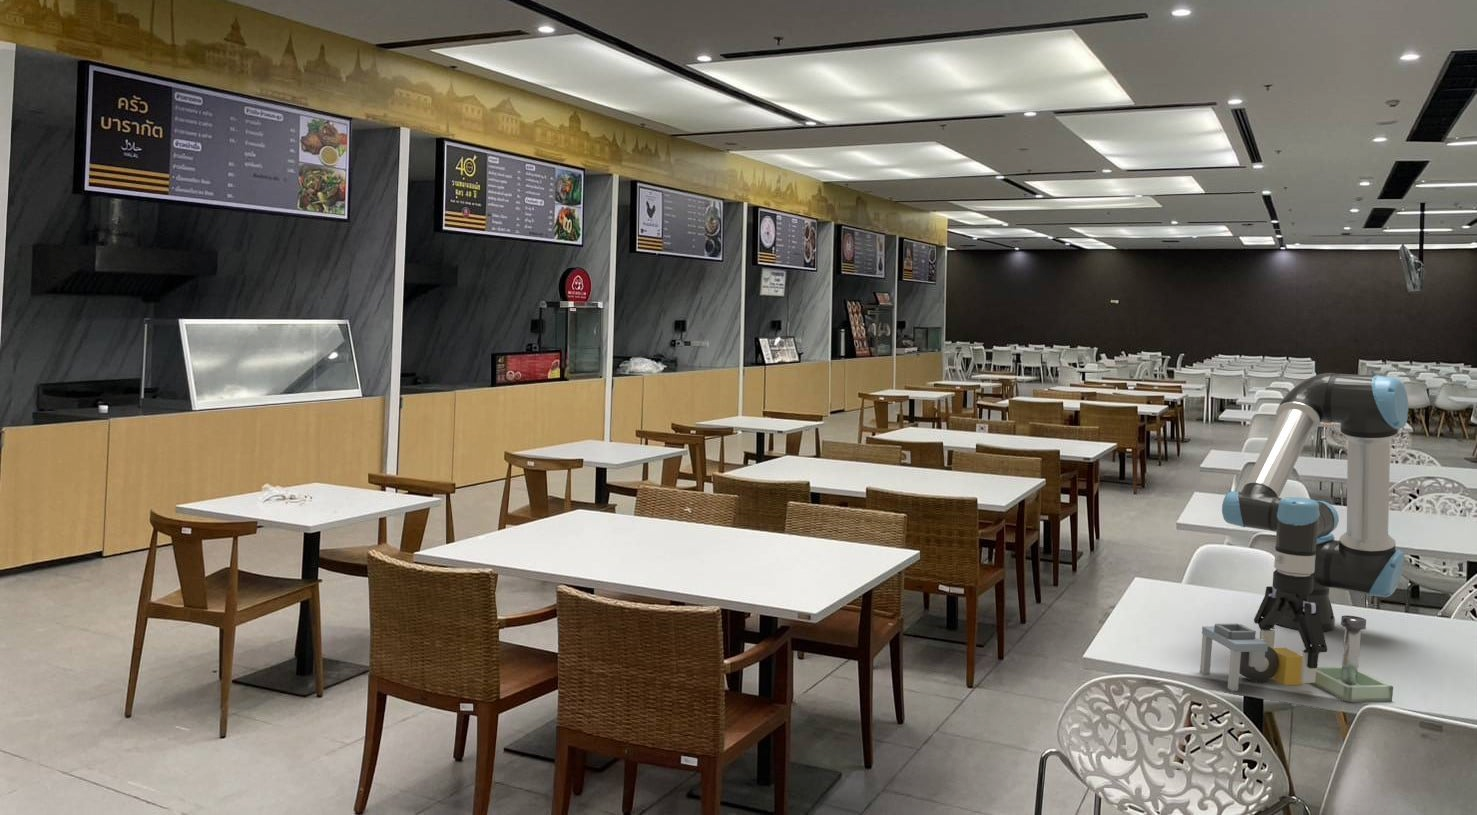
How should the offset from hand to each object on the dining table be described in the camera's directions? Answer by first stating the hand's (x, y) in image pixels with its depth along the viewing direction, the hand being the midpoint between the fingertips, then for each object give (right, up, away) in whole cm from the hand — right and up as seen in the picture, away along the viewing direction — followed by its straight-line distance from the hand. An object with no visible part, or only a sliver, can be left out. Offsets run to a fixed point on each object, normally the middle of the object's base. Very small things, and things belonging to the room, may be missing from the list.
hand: (1286, 670), depth 222 cm
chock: (-1, -2, 0) cm, 2 cm away
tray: (+10, -3, -6) cm, 12 cm away
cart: (-10, -2, -1) cm, 10 cm away
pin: (+10, -2, -6) cm, 12 cm away
